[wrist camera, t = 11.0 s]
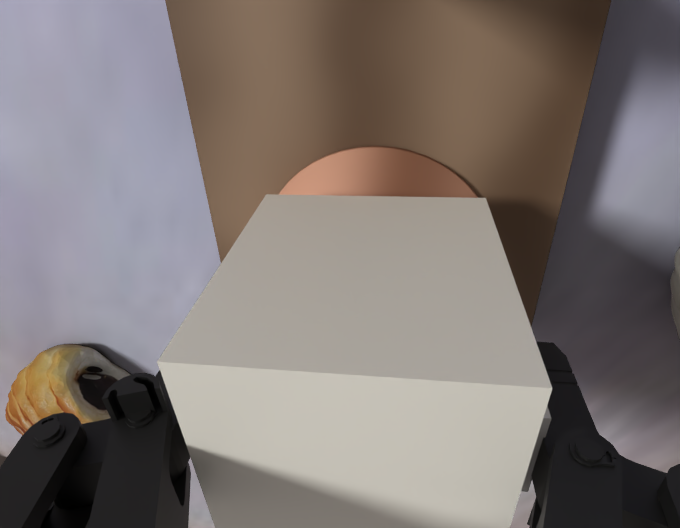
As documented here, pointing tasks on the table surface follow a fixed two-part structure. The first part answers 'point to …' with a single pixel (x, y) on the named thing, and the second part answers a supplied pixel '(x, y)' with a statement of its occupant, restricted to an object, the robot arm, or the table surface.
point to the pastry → (62, 386)
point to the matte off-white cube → (360, 369)
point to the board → (391, 105)
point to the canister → (676, 292)
